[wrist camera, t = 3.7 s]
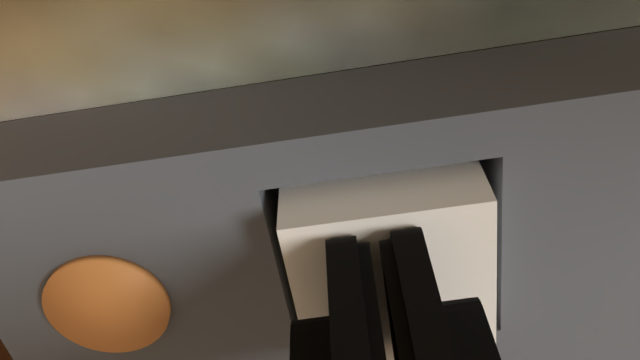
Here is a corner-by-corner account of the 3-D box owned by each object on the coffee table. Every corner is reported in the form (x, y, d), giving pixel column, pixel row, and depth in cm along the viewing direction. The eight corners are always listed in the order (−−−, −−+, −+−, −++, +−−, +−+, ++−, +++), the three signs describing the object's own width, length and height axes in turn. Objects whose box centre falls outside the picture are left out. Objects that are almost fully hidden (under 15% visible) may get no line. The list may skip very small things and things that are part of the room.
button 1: (461, 122, 12) (497, 201, 10) (465, 260, 14) (496, 352, 12) (282, 148, 12) (276, 230, 10) (310, 280, 14) (311, 374, 12)
